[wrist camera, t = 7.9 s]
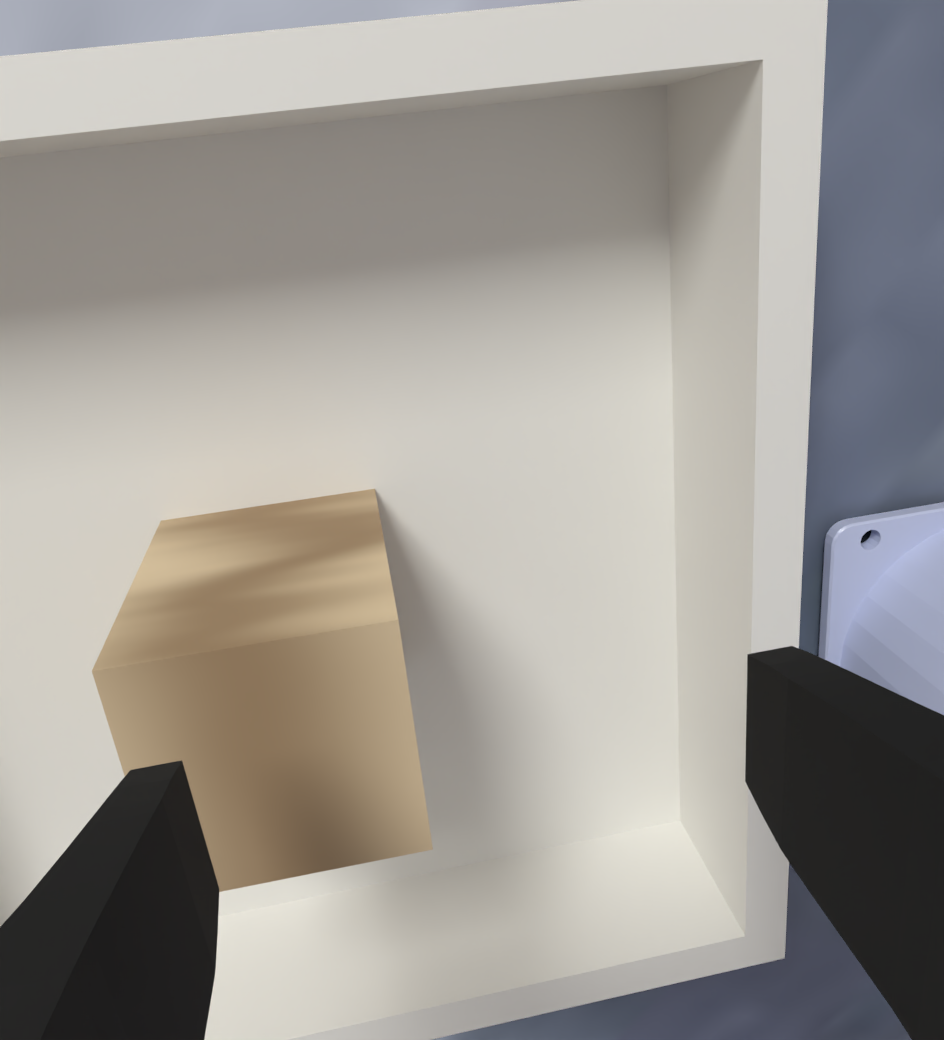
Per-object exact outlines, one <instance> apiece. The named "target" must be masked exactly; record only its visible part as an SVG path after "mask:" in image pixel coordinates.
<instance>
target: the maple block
mask: <svg viewBox="0 0 944 1040" xmlns="http://www.w3.org/2000/svg"><path fill="white" fill-rule="evenodd" d="M92 674H93V677H94V680H95V683H96V686H97V690H98V693H99V696H100V699H101V702H102V706H103V709H104V712H105V715H106V718H107V722H108V725H109V728H110V731H111V734H112V738H113V741H114V744H115V747H116V750H117V753H118V757H119V760H120V763H121V766H122V769H123V773H124V776H126V775H127V773H128V772H129V771H130V770H133V769H138V768H144V767H149V766H154V765H160V764H165V763H170V762H176V761H181V760H182V762H183V766H184V769H185V772H186V776H187V779H188V783H189V786H190V790H191V793H192V797H193V800H194V803H195V807H196V810H197V814H198V817H199V821H200V824H201V828H202V831H203V834H204V838H205V841H206V845H207V848H208V852H209V855H210V859H211V862H212V865H213V869H214V872H215V876H216V879H217V883H218V886H219V892H222V891H227V890H232V889H237V888H242V887H247V886H252V885H257V884H262V883H267V882H272V881H277V880H282V879H287V878H292V877H297V876H302V875H307V874H312V873H317V872H322V871H328V870H333V869H338V868H343V867H348V866H353V865H358V864H363V863H368V862H373V861H378V860H383V859H388V858H393V857H398V856H403V855H408V854H413V853H418V852H423V851H428V850H433V847H432V840H431V833H430V827H429V820H428V813H427V807H426V800H425V793H424V787H423V780H422V773H421V767H420V760H419V753H418V747H417V740H416V733H415V727H414V720H413V713H412V707H411V700H410V693H409V687H408V680H407V673H406V667H405V660H404V653H403V647H402V640H401V633H400V627H399V620H398V615H397V609H396V603H395V598H394V592H393V587H392V581H391V576H390V570H389V565H388V559H387V554H386V548H385V543H384V537H383V531H382V526H381V520H380V515H379V509H378V504H377V498H376V493H375V489H369V490H363V491H356V492H349V493H342V494H336V495H329V496H322V497H316V498H309V499H302V500H296V501H289V502H282V503H276V504H269V505H262V506H255V507H249V508H242V509H235V510H229V511H222V512H215V513H209V514H202V515H195V516H189V517H182V518H175V519H169V520H162V521H160V524H159V526H158V528H157V530H156V532H155V534H154V537H153V539H152V541H151V543H150V545H149V547H148V550H147V552H146V554H145V556H144V558H143V561H142V563H141V565H140V567H139V569H138V571H137V574H136V576H135V578H134V580H133V582H132V584H131V587H130V589H129V591H128V593H127V595H126V598H125V600H124V602H123V604H122V606H121V608H120V611H119V613H118V615H117V617H116V619H115V622H114V624H113V626H112V628H111V630H110V632H109V635H108V637H107V639H106V641H105V643H104V645H103V648H102V650H101V652H100V654H99V656H98V659H97V661H96V663H95V665H94V667H93V669H92Z"/></svg>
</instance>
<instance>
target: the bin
mask: <svg viewBox="0 0 944 1040" xmlns="http://www.w3.org/2000/svg"><path fill="white" fill-rule="evenodd" d="M827 5H828V0H579V1H569V2H558V3H548V4H538V5H527V6H517V7H507V8H496V9H486V10H476V11H465V12H455V13H445V14H434V15H424V16H413V17H403V18H393V19H382V20H372V21H362V22H351V23H341V24H331V25H320V26H310V27H300V28H289V29H279V30H269V31H258V32H248V33H238V34H227V35H217V36H206V37H196V38H186V39H175V40H165V41H155V42H144V43H134V44H124V45H113V46H103V47H93V48H82V49H72V50H62V51H51V52H41V53H31V54H20V55H10V56H0V926H1V925H2V924H3V923H4V922H5V921H6V920H7V919H8V918H9V917H10V915H11V914H12V913H13V912H14V911H15V910H16V909H17V908H18V907H19V905H20V904H21V903H22V902H23V901H24V900H25V899H26V897H27V896H28V895H29V894H30V893H31V891H32V890H33V889H34V888H35V887H36V885H37V884H38V883H39V882H40V881H41V879H42V878H43V877H44V876H45V874H46V873H47V872H48V871H49V870H50V868H51V867H52V866H53V865H54V864H55V862H56V861H57V860H58V859H59V858H60V856H61V855H62V854H63V853H64V851H65V850H66V849H67V848H68V846H69V845H70V844H71V843H72V842H73V840H74V839H75V838H76V837H77V835H78V834H79V833H80V832H81V830H82V829H83V828H84V827H85V825H86V824H87V823H88V822H89V820H90V819H91V818H92V817H93V815H94V814H95V813H96V812H97V810H98V809H99V808H100V807H101V805H102V804H103V803H104V802H105V800H106V799H107V798H108V797H109V795H110V794H111V793H112V792H113V790H114V789H115V788H116V787H117V785H118V784H119V783H120V782H121V780H122V779H123V778H124V777H125V776H124V773H123V769H122V766H121V763H120V760H119V757H118V753H117V750H116V747H115V744H114V741H113V738H112V734H111V731H110V728H109V725H108V722H107V718H106V715H105V712H104V709H103V706H102V702H101V699H100V696H99V693H98V690H97V686H96V683H95V680H94V677H93V674H92V669H93V667H94V665H95V663H96V661H97V659H98V656H99V654H100V652H101V650H102V648H103V645H104V643H105V641H106V639H107V637H108V635H109V632H110V630H111V628H112V626H113V624H114V622H115V619H116V617H117V615H118V613H119V611H120V608H121V606H122V604H123V602H124V600H125V598H126V595H127V593H128V591H129V589H130V587H131V584H132V582H133V580H134V578H135V576H136V574H137V571H138V569H139V567H140V565H141V563H142V561H143V558H144V556H145V554H146V552H147V550H148V547H149V545H150V543H151V541H152V539H153V537H154V534H155V532H156V530H157V528H158V526H159V524H160V521H162V520H169V519H175V518H182V517H189V516H195V515H202V514H209V513H215V512H222V511H229V510H235V509H242V508H249V507H255V506H262V505H269V504H276V503H282V502H289V501H296V500H302V499H309V498H316V497H322V496H329V495H336V494H342V493H349V492H356V491H363V490H369V489H375V493H376V498H377V504H378V509H379V515H380V520H381V526H382V531H383V537H384V543H385V548H386V554H387V559H388V565H389V570H390V576H391V581H392V587H393V592H394V598H395V603H396V609H397V615H398V620H399V627H400V633H401V640H402V647H403V653H404V660H405V667H406V673H407V680H408V687H409V693H410V700H411V707H412V713H413V720H414V727H415V733H416V740H417V747H418V753H419V760H420V767H421V773H422V780H423V787H424V793H425V800H426V807H427V813H428V820H429V827H430V833H431V840H432V847H433V850H428V851H423V852H418V853H413V854H408V855H403V856H398V857H393V858H388V859H383V860H378V861H373V862H368V863H363V864H358V865H353V866H348V867H343V868H338V869H333V870H328V871H322V872H317V873H312V874H307V875H302V876H297V877H292V878H287V879H282V880H277V881H272V882H267V883H262V884H257V885H252V886H247V887H242V888H237V889H232V890H227V891H222V892H219V911H218V936H217V953H216V970H215V977H214V984H213V990H212V996H211V1002H210V1008H209V1014H208V1020H207V1026H206V1032H205V1038H204V1040H432V1039H436V1038H440V1037H445V1036H449V1035H453V1034H458V1033H462V1032H466V1031H471V1030H475V1029H479V1028H484V1027H488V1026H492V1025H497V1024H501V1023H505V1022H510V1021H514V1020H518V1019H523V1018H527V1017H531V1016H536V1015H540V1014H545V1013H549V1012H553V1011H558V1010H562V1009H566V1008H571V1007H575V1006H579V1005H584V1004H588V1003H592V1002H597V1001H601V1000H605V999H610V998H614V997H618V996H623V995H627V994H631V993H636V992H640V991H644V990H649V989H653V988H658V987H662V986H666V985H671V984H675V983H679V982H684V981H688V980H692V979H697V978H701V977H705V976H710V975H714V974H718V973H723V972H727V971H731V970H736V969H740V968H744V967H749V966H753V965H757V964H762V963H766V962H771V961H775V960H779V959H784V958H785V941H786V919H787V897H788V874H789V861H788V860H787V858H786V857H785V855H784V854H783V852H782V851H781V849H780V847H779V845H778V843H777V842H776V840H775V838H774V836H773V834H772V832H771V831H770V829H769V827H768V825H767V823H766V821H765V820H764V818H763V816H762V814H761V812H760V810H759V808H758V806H757V804H756V802H755V800H754V798H753V796H752V794H751V792H750V790H749V788H748V786H747V784H746V782H745V763H746V709H747V655H748V654H751V653H757V652H762V651H767V650H773V649H778V648H783V647H789V646H794V647H796V648H799V629H800V607H801V585H802V562H803V540H804V518H805V495H806V473H807V451H808V428H809V406H810V384H811V362H812V339H813V317H814V295H815V272H816V250H817V228H818V205H819V183H820V161H821V139H822V116H823V94H824V72H825V49H826V27H827Z"/></svg>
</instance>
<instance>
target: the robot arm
mask: <svg viewBox="0 0 944 1040" xmlns="http://www.w3.org/2000/svg"><path fill="white" fill-rule="evenodd" d="M870 530H871V535H870V537H869V538H868V539H867V540H866V541H865V542H863V543H861V539H862V536H863V535H864V534H865V533H866V532H867V531H870ZM745 782H746V784H747V786H748V788H749V790H750V792H751V794H752V796H753V798H754V800H755V802H756V804H757V806H758V808H759V810H760V812H761V814H762V816H763V818H764V820H765V821H766V823H767V825H768V827H769V829H770V831H771V832H772V834H773V836H774V838H775V840H776V842H777V843H778V845H779V847H780V849H781V851H782V852H783V854H784V855H785V857H786V858H787V860H788V861H789V863H790V864H791V865H792V867H793V868H794V870H795V871H796V873H797V874H798V876H799V877H800V878H801V880H802V881H803V883H804V884H805V886H806V887H807V889H808V890H809V891H810V893H811V894H812V896H813V897H814V899H815V900H816V902H817V903H818V904H819V906H820V907H821V909H822V910H823V912H824V913H825V914H826V916H827V917H828V919H829V920H830V921H831V923H832V924H833V926H834V927H835V928H836V930H837V931H838V933H839V934H840V936H841V937H842V938H843V940H844V941H845V943H846V944H847V945H848V947H849V948H850V950H851V951H852V953H853V954H854V955H855V957H856V958H857V960H858V961H859V962H860V964H861V965H862V967H863V968H864V970H865V971H866V972H867V974H868V975H869V977H870V978H871V979H872V981H873V982H874V984H875V985H876V987H877V988H878V989H879V991H880V992H881V994H882V995H883V996H884V998H885V999H886V1001H887V1002H888V1004H889V1005H890V1006H891V1008H892V1009H893V1011H894V1012H895V1014H896V1016H897V1017H898V1019H899V1020H900V1022H901V1023H902V1025H903V1026H904V1028H905V1029H906V1031H907V1032H908V1034H909V1036H910V1037H911V1039H912V1040H944V502H942V503H936V504H930V505H925V506H919V507H913V508H907V509H901V510H895V511H890V512H884V513H878V514H872V515H866V516H860V517H855V518H849V519H844V520H841V521H839V522H837V523H835V524H834V525H833V526H832V527H831V528H830V529H829V531H828V532H827V534H826V538H825V548H824V566H823V584H822V602H821V620H820V638H819V656H816V655H813V654H811V653H809V652H806V651H804V650H801V649H799V648H796V647H794V646H789V647H783V648H778V649H773V650H767V651H762V652H757V653H751V654H748V655H747V709H746V763H745ZM218 911H219V886H218V883H217V879H216V876H215V872H214V869H213V865H212V862H211V859H210V855H209V852H208V848H207V845H206V841H205V838H204V834H203V831H202V828H201V824H200V821H199V817H198V814H197V810H196V807H195V803H194V800H193V797H192V793H191V790H190V786H189V783H188V779H187V776H186V772H185V769H184V766H183V762H182V760H181V761H176V762H170V763H165V764H160V765H154V766H149V767H144V768H138V769H133V770H130V771H129V772H128V773H127V775H126V776H125V777H124V778H123V779H122V780H121V782H120V783H119V784H118V785H117V787H116V788H115V789H114V790H113V792H112V793H111V794H110V795H109V797H108V798H107V799H106V800H105V802H104V803H103V804H102V805H101V807H100V808H99V809H98V810H97V812H96V813H95V814H94V815H93V817H92V818H91V819H90V820H89V822H88V823H87V824H86V825H85V827H84V828H83V829H82V830H81V832H80V833H79V834H78V835H77V837H76V838H75V839H74V840H73V842H72V843H71V844H70V845H69V846H68V848H67V849H66V850H65V851H64V853H63V854H62V855H61V856H60V858H59V859H58V860H57V861H56V862H55V864H54V865H53V866H52V867H51V868H50V870H49V871H48V872H47V873H46V874H45V876H44V877H43V878H42V879H41V881H40V882H39V883H38V884H37V885H36V887H35V888H34V889H33V890H32V891H31V893H30V894H29V895H28V896H27V897H26V899H25V900H24V901H23V902H22V903H21V904H20V905H19V907H18V908H17V909H16V910H15V911H14V912H13V913H12V914H11V915H10V917H9V918H8V919H7V920H6V921H5V922H4V923H3V924H2V925H1V926H0V1040H204V1038H205V1032H206V1026H207V1020H208V1014H209V1008H210V1002H211V996H212V990H213V984H214V977H215V970H216V953H217V936H218Z"/></svg>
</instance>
